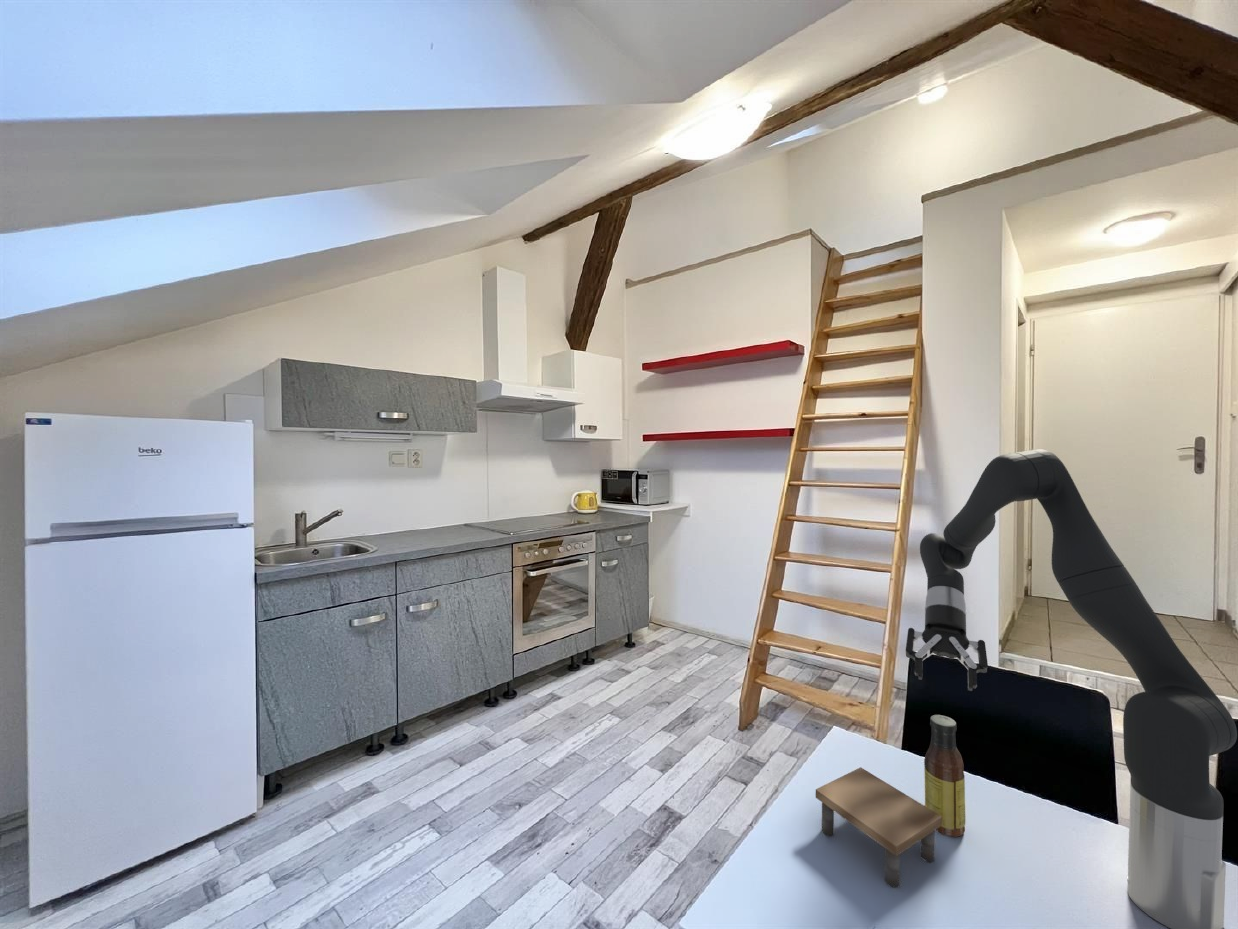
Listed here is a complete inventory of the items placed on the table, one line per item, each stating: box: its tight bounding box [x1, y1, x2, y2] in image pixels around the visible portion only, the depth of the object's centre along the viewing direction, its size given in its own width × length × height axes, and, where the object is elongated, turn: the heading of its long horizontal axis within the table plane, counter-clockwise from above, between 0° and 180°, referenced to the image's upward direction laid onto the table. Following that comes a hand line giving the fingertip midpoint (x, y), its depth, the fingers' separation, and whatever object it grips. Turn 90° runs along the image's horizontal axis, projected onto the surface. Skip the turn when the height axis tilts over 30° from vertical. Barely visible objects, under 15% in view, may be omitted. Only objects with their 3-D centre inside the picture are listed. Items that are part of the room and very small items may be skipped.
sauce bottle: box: [923, 714, 966, 838], centre depth 91 cm, size 7×6×20 cm
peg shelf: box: [815, 766, 942, 889], centre depth 87 cm, size 15×13×8 cm
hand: (944, 683), depth 101 cm, fingers open, 8 cm apart
